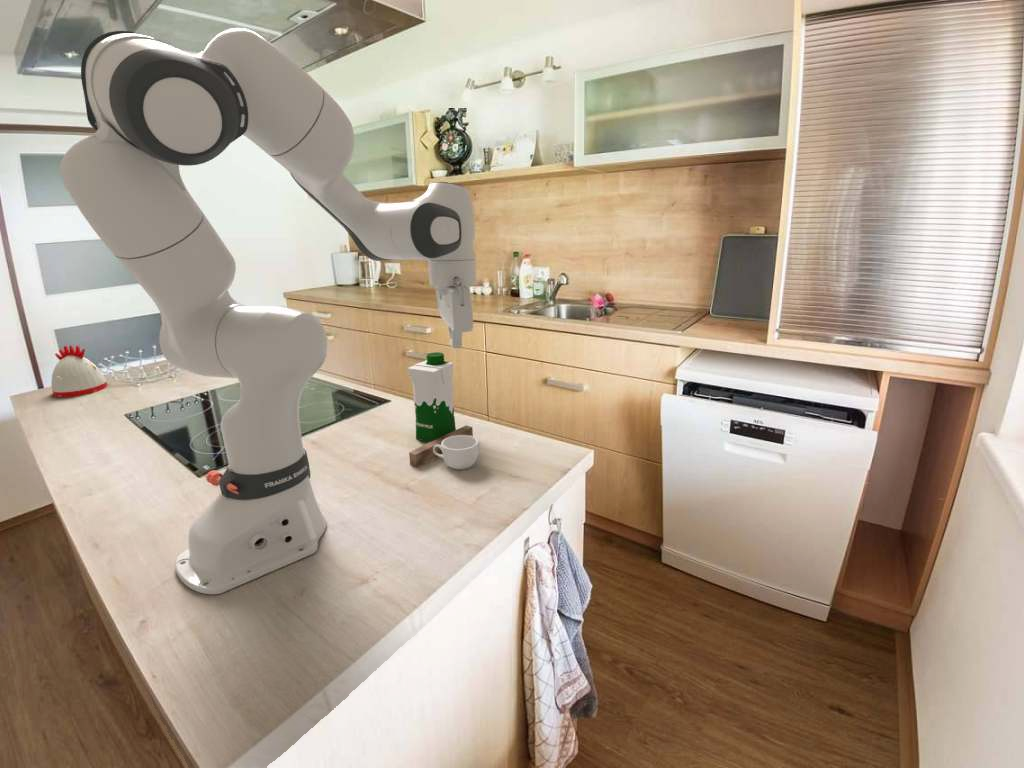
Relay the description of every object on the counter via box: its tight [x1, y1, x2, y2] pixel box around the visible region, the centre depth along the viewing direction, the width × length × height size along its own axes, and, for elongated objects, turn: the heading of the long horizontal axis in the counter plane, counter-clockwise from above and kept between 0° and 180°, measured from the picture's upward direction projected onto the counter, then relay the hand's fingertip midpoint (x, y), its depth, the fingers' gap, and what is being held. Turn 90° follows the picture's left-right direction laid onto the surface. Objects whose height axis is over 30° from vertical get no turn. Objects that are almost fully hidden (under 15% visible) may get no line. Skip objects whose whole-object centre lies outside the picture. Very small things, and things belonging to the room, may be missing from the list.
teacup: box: [433, 435, 479, 471], centre depth 110 cm, size 10×8×5 cm
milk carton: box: [407, 352, 457, 443], centre depth 122 cm, size 9×9×20 cm
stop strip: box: [408, 424, 474, 468], centre depth 116 cm, size 18×2×3 cm, turn 142°
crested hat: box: [50, 344, 108, 398], centre depth 166 cm, size 14×14×15 cm
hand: (456, 346), depth 101 cm, fingers closed
